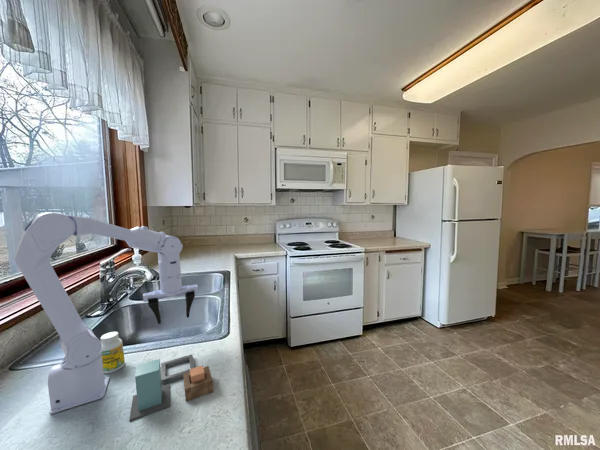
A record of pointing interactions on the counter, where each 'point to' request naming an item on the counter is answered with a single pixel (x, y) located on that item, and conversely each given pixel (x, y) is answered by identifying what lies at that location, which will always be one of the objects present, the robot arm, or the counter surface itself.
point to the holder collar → (171, 363)
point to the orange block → (197, 374)
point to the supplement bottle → (112, 352)
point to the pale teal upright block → (148, 384)
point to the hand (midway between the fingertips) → (173, 319)
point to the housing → (198, 385)
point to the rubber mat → (165, 404)
